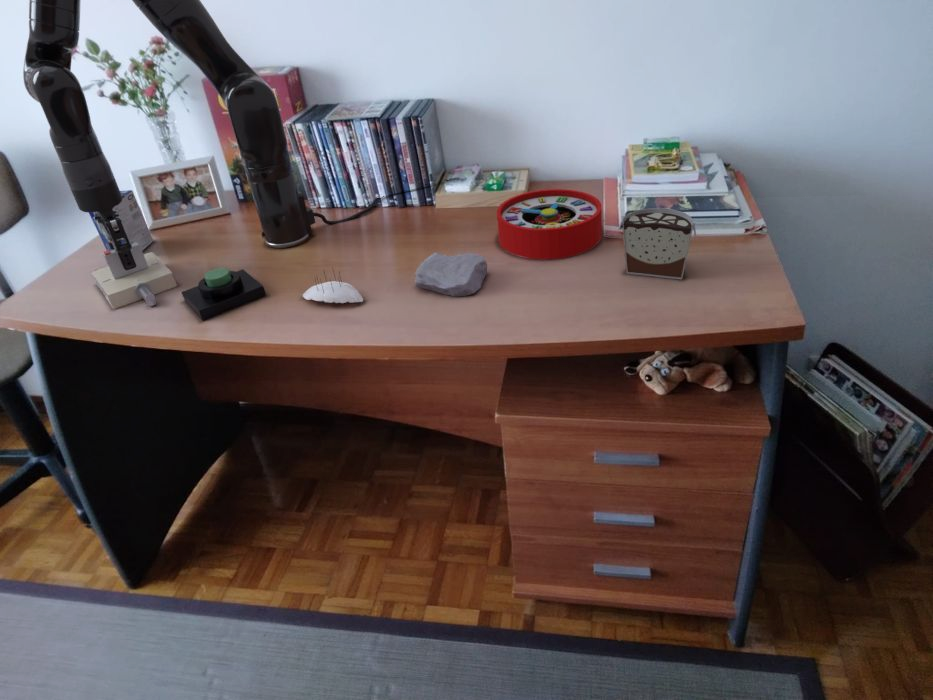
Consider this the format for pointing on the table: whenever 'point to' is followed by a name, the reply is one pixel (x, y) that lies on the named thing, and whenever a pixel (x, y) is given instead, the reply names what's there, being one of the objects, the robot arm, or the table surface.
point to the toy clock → (549, 223)
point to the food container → (657, 242)
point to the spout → (145, 293)
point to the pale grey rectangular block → (117, 266)
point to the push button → (217, 277)
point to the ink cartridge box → (129, 221)
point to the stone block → (452, 274)
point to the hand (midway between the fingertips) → (125, 261)
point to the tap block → (134, 282)
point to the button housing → (223, 295)
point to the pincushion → (333, 292)
